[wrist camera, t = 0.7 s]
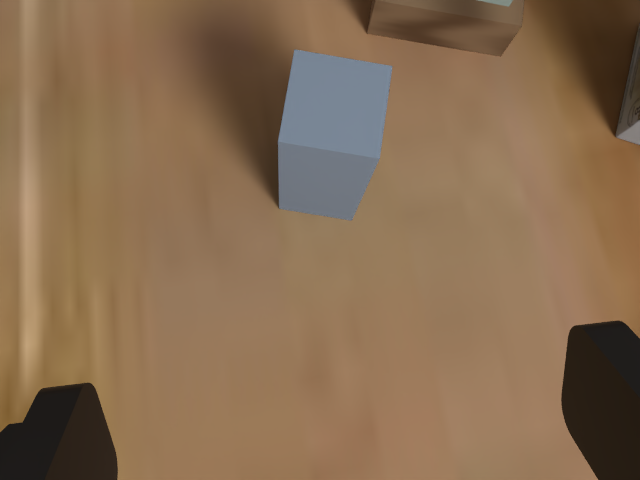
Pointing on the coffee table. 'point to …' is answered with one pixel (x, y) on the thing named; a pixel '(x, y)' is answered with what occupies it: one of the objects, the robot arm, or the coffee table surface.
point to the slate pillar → (330, 133)
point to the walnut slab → (448, 23)
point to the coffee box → (631, 100)
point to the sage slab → (499, 2)
